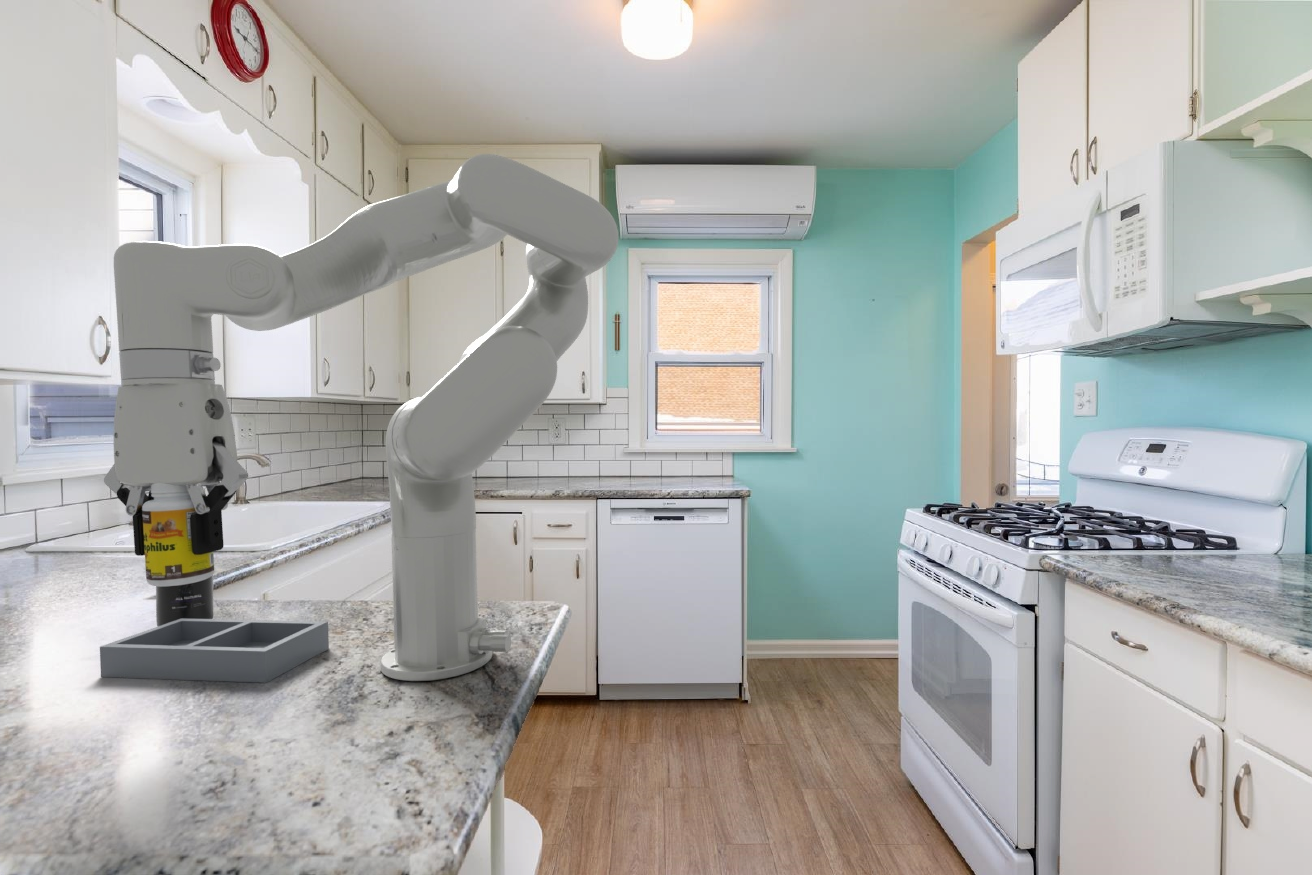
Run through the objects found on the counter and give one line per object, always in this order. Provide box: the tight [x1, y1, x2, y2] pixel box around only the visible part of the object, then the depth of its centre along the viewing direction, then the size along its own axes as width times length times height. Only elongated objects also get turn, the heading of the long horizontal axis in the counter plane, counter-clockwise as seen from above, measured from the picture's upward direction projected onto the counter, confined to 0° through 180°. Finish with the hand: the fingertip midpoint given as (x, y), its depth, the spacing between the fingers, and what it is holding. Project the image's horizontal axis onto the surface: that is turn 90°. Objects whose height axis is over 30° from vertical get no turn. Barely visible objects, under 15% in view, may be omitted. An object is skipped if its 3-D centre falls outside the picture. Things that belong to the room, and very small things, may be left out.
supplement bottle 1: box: [142, 483, 215, 587], centre depth 65 cm, size 6×6×10 cm
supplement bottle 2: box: [155, 574, 214, 627], centre depth 96 cm, size 7×7×12 cm
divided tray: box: [99, 618, 330, 684], centre depth 79 cm, size 21×11×4 cm, turn 82°
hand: (180, 550), depth 66 cm, fingers closed on supplement bottle 1, 5 cm apart
